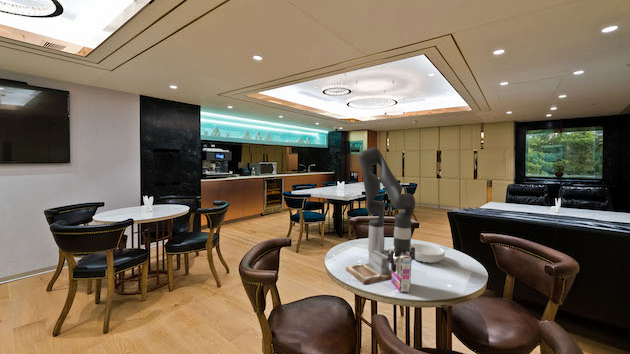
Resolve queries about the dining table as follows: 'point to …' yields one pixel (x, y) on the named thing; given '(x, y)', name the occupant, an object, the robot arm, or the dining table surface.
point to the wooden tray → (372, 269)
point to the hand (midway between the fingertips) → (401, 270)
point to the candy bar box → (402, 273)
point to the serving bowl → (428, 253)
